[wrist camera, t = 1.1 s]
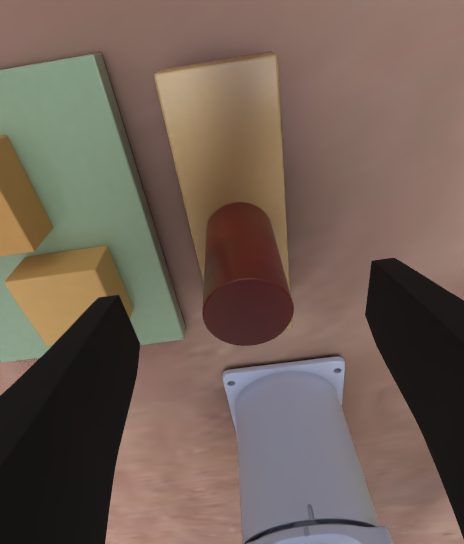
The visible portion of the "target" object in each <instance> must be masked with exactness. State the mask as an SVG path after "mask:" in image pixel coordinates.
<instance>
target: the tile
mask: <svg viewBox="0 0 464 544" xmlns="http://www.w3.org/2000/svg"><path fill="white" fill-rule="evenodd" d="M3 135H7V136H8V138H9V140H10V142H11V144H12V146H13V148H14V150H15V152H16V154H17V156H18V158H19V160H20V162H21V164H22V166H23V168H24V170H25V172H26V174H27V176H28V178H29V180H30V182H31V184H32V186H33V188H34V190H35V192H36V194H37V196H38V198H39V200H40V202H41V204H42V206H43V208H44V210H45V212H46V214H47V216H48V218H49V220H50V222H51V224H52V226H53V229H52V230H51V232H50V233H49V234H48V235H47V237H46V238H45V239H44V240H43V242H42V243H41V244H40V245H39V247H38V248H37V249H36V250H35V251H34V252H29V253H22V254H15V255H8V256H1V257H0V362H1V363H3V362H11V361H19V360H27V359H35V358H41V357H42V356H43V355H44V354H45V353H46V352H47V351H48V350H49V349H50V348H51V346H52V345H51V346H46V345H45V343H44V342H43V340H42V339H41V337H40V336H39V334H38V333H37V331H36V330H35V328H34V327H33V325H32V324H31V323H30V321H29V320H28V318H27V317H26V315H25V314H24V312H23V311H22V309H21V308H20V306H19V305H18V303H17V302H16V300H15V299H14V297H13V296H12V294H11V293H10V291H9V290H8V288H7V287H6V285H5V284H4V282H5V280H6V279H7V278H8V277H9V276H10V274H11V273H12V272H13V271H14V269H15V268H16V267H17V266H18V265H19V263H20V262H21V261H22V260H23V258H24V257H28V256H35V255H42V254H49V253H57V252H64V251H71V250H78V249H85V248H92V247H99V246H108V249H109V251H110V254H111V256H112V258H113V261H114V263H115V266H116V268H117V270H118V273H119V275H120V278H121V280H122V283H123V285H124V287H125V290H126V292H127V295H128V297H129V299H130V302H131V304H132V307H133V312H132V315H131V319H130V321H131V323H132V326H133V328H134V330H135V333H136V335H137V337H138V340H139V342H140V345H146V344H154V343H162V342H170V341H178V340H184V339H185V329H186V327H185V324H184V321H183V318H182V314H181V311H180V308H179V305H178V301H177V298H176V295H175V291H174V288H173V285H172V282H171V278H170V275H169V272H168V269H167V265H166V262H165V259H164V256H163V252H162V249H161V246H160V243H159V239H158V236H157V233H156V230H155V226H154V223H153V220H152V217H151V213H150V210H149V207H148V204H147V200H146V197H145V194H144V191H143V187H142V184H141V181H140V177H139V174H138V171H137V168H136V164H135V161H134V158H133V155H132V151H131V148H130V145H129V142H128V138H127V135H126V132H125V129H124V125H123V122H122V119H121V116H120V112H119V109H118V106H117V103H116V99H115V96H114V93H113V90H112V86H111V83H110V80H109V77H108V73H107V70H106V67H105V64H104V60H103V57H102V54H101V53H100V52H99V53H93V54H87V55H81V56H75V57H69V58H64V59H58V60H52V61H46V62H40V63H34V64H29V65H23V66H17V67H11V68H5V69H0V136H3Z"/></svg>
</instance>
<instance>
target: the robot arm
mask: <svg viewBox="0 0 464 544" xmlns="http://www.w3.org/2000/svg"><path fill="white" fill-rule="evenodd" d="M365 315H366V318H367V321H368V324H369V327H370V329H371V332H372V335H373V337H374V340H375V343H376V345H377V347H378V349H379V351H380V353H381V355H382V357H383V359H384V361H385V363H386V365H387V367H388V369H389V370H390V372H391V374H392V376H393V378H394V380H395V382H396V384H397V385H398V387H399V389H400V391H401V393H402V395H403V397H404V399H405V400H406V402H407V404H408V406H409V408H410V410H411V412H412V414H413V415H414V417H415V419H416V421H417V424H418V426H419V428H420V430H421V432H422V434H423V436H424V439H425V441H426V443H427V446H428V448H429V451H430V453H431V456H432V458H433V460H434V463H435V465H436V468H437V470H438V472H439V475H440V478H441V480H442V483H443V485H444V488H445V490H446V493H447V496H448V498H449V501H450V503H451V506H452V508H453V511H454V514H455V516H456V519H457V522H458V525H459V527H460V530H461V533H462V536H463V538H464V300H462V299H460V298H459V297H457V296H455V295H454V294H452V293H450V292H449V291H447V290H445V289H444V288H442V287H441V286H439V285H437V284H436V283H434V282H433V281H431V280H429V279H428V278H426V277H425V276H423V275H422V274H420V273H418V272H417V271H415V270H414V269H412V268H410V267H409V266H407V265H406V264H404V263H402V262H401V261H399V260H397V259H395V258H389V259H382V260H374V261H372V264H371V272H370V280H369V288H368V296H367V304H366V313H365ZM139 349H140V342H139V340H138V337H137V335H136V333H135V330H134V328H133V326H132V323H131V321H130V319H129V316H128V314H127V312H126V310H125V307H124V305H123V303H122V300H121V298H120V296H119V295H113V296H106V297H99V298H98V299H96V300H95V301H94V302H93V303H92V304H91V305H90V306H89V307H88V308H87V309H86V311H85V312H84V313H83V314H82V315H81V316H80V317H79V318H78V319H77V320H76V321H75V322H74V323H73V324H72V325H71V327H70V328H69V329H68V330H67V331H66V332H65V333H64V334H63V335H62V336H61V337H60V338H59V339H58V340H57V341H56V342H55V343H54V344H53V345H52V346H51V348H50V349H49V350H48V351H47V352H46V353H45V354H44V355H43V356H42V357H41V358H40V359H39V360H38V361H37V362H35V363H34V364H33V365H32V366H31V367H30V368H29V369H28V370H27V371H26V372H25V373H24V374H23V375H22V376H21V377H20V378H19V379H18V380H17V381H16V382H15V383H14V384H13V385H12V386H11V387H10V388H8V389H7V390H6V391H5V392H4V393H3V394H2V395H1V396H0V544H105V539H106V530H107V522H108V514H109V506H110V499H111V492H112V485H113V478H114V471H115V465H116V460H117V455H118V450H119V446H120V442H121V438H122V434H123V430H124V426H125V422H126V418H127V414H128V410H129V406H130V402H131V397H132V393H133V389H134V385H135V380H136V376H137V369H138V360H139ZM344 373H345V362H344V359H343V358H342V357H328V358H320V359H312V360H304V361H295V362H287V363H279V364H270V365H262V366H254V367H246V368H237V369H229V370H226V371H224V372H223V383H224V387H225V391H226V395H227V399H228V403H229V407H230V411H231V415H232V419H233V423H234V427H235V431H236V435H237V447H238V467H239V487H240V507H241V527H242V544H393V542H392V539H391V536H390V533H389V530H388V527H386V526H380V524H379V521H378V518H377V515H376V512H375V509H374V505H373V502H372V499H371V496H370V493H369V490H368V487H367V484H366V481H365V478H364V475H363V472H362V469H361V466H360V463H359V459H358V456H357V453H356V450H355V447H354V444H353V441H352V438H351V435H350V432H349V429H348V426H347V423H346V420H345V417H344V413H343V410H342V397H343V385H344Z"/></svg>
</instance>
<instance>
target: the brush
mask: <svg viewBox="0 0 464 544" xmlns="http://www.w3.org/2000/svg"><path fill="white" fill-rule="evenodd" d="M154 80H155V84H156V88H157V93H158V97H159V101H160V105H161V109H162V114H163V118H164V122H165V126H166V130H167V134H168V139H169V143H170V147H171V151H172V155H173V159H174V164H175V168H176V172H177V176H178V180H179V185H180V189H181V193H182V197H183V201H184V205H185V210H186V214H187V218H188V222H189V226H190V230H191V235H192V239H193V243H194V247H195V251H196V256H197V260H198V264H199V268H200V272H201V276H202V281H203V285H204V291H203V320H204V323H205V325H206V327H207V329H208V330H209V331H210V332H211V333H212V334H213V335H214V336H215V337H217V338H218V339H220V340H222V341H224V342H227V343H230V344H234V345H242V346H248V345H257V344H261V343H264V342H267V341H270V340H272V339H274V338H275V337H277V336H278V335H280V334H281V333H282V332H283V331H284V330H285V329H288V328H291V327H292V320H291V319H292V317H293V311H294V307H293V302H292V298H291V294H290V282H289V263H288V243H287V224H286V205H285V186H284V167H283V147H282V128H281V109H280V90H279V70H278V56H277V54H276V53H274V52H265V53H259V54H253V55H247V56H241V57H235V58H229V59H223V60H217V61H211V62H205V63H199V64H193V65H187V66H181V67H175V68H169V69H163V70H159V71H158V72H157V73H155V74H154Z"/></svg>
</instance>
